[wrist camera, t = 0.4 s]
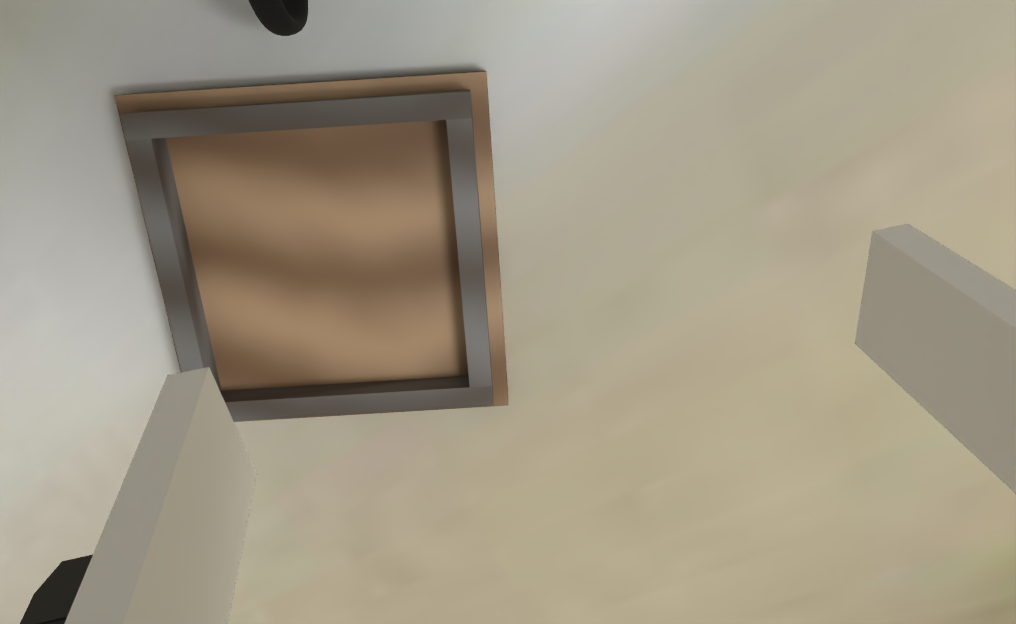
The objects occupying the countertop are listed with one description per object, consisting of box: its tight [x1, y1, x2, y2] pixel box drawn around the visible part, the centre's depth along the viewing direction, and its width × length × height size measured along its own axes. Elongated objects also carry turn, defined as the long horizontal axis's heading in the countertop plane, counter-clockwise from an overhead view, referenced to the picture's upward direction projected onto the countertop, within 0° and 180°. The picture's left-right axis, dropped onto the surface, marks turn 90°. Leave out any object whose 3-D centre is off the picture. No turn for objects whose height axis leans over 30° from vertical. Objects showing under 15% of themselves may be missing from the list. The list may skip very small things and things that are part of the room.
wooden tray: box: [115, 71, 508, 422], centre depth 37 cm, size 18×18×3 cm
